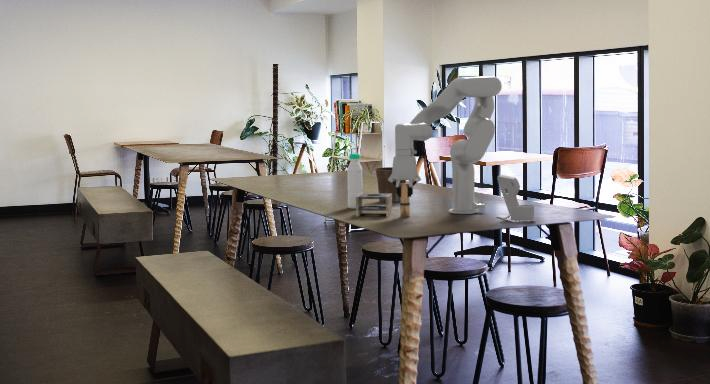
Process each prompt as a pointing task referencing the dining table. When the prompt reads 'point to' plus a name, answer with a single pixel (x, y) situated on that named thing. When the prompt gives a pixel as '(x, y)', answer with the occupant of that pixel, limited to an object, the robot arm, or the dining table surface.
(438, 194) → the dining table surface
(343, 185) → the dining table surface
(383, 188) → the plant pot
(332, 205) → the dining table surface
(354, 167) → the water bottle
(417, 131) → the robot arm
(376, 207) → the collar stand
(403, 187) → the tan cylinder
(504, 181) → the phone holder
